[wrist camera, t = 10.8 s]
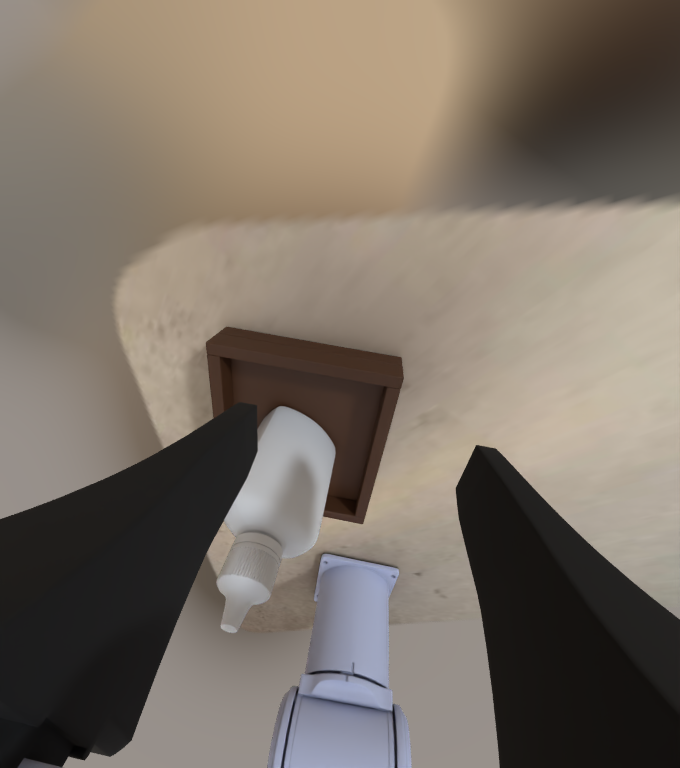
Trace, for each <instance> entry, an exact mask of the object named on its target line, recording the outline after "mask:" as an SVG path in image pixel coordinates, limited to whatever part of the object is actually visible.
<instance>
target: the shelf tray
mask: <svg viewBox="0 0 680 768" xmlns="http://www.w3.org/2000/svg"><path fill="white" fill-rule="evenodd" d="M206 349H207V358H208V368H209V378H210V388H211V397H212V407H213V417H214V418H215V417H217V416H218V415H220V414H221V413H223V412H224V411H226V410H227V409H229V408H230V407H232V406H233V405H235V404H237V403H238V402H243V403H248V404H254V405H257V429H258V427H259V426H260V424H261V422H262V421H263V419H264V418H265V417H266V416H267V415H268V414H269V413H270V412H271V411H272V410H274V409H275V408H277V407H279V406H285V407H289V408H291V409H294V410H296V411H298V412H300V413H302V414H304V415H306V416H307V417H309V418H310V419H312V420H313V421H314V422H316V423H317V424H318V425H319V426H320V427H321V428H322V429H323V430H324V431H325V432H326V433H327V435H328V436H329V438H330V439H331V441H332V442H333V444H334V446H335V453H336V454H335V459H334V464H333V469H332V474H331V479H330V484H329V489H328V494H327V499H326V503H325V508H324V513H323V517H328V518H333V519H338V520H343V521H348V522H353V523H358V524H363V522H364V519H365V515H366V512H367V508H368V504H369V501H370V497H371V494H372V490H373V486H374V483H375V479H376V476H377V472H378V468H379V465H380V461H381V458H382V454H383V450H384V447H385V443H386V440H387V436H388V433H389V429H390V425H391V422H392V418H393V415H394V411H395V407H396V404H397V400H398V397H399V393H400V389H401V386H402V382H403V379H404V376H403V367H402V358H401V357H395V356H389V355H384V354H378V353H372V352H367V351H361V350H355V349H350V348H344V347H338V346H333V345H327V344H321V343H316V342H310V341H304V340H299V339H293V338H287V337H282V336H276V335H270V334H265V333H259V332H253V331H248V330H242V329H236V328H230V327H225V328H224V329H223V330H221V331H220V332H219V333H217V334H216V335H215V336H213V337H212V338H211V339H210V340H208V341H207V342H206Z"/></svg>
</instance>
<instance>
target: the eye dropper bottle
mask: <svg viewBox="0 0 680 768" xmlns="http://www.w3.org/2000/svg"><path fill="white" fill-rule="evenodd" d="M257 433H258V452H257V454H256V457H255V460H254V462H253V465H252V467H251V470H250V472H249V475H248V477H247V479H246V481H245V483H244V485H243V487H242V488H241V490H240V492H239V494H238V496H237V498H236V499H235V501H234V503H233V505H232V507H231V508H230V510H229V512H228V514H227V516H226V517H225V519H224V522H225V524H226V525H227V527H228V528H229V529H230V531H231V532H232V534H233V535H234V536H235V537H236V539H235V541H234V543H233V545H232V547H231V550H230V552H229V554H228V556H227V559H226V561H225V563H224V565H223V567H222V570H221V572H220V574H219V576H218V579H217V586H218V589H219V590H220V592H221V593H222V594H223V595H225V597H226V604H225V608H224V613H223V618H222V622H221V626H220V627H221V629H223V630H224V631H226V632H230V633H236V632H237V631H238V629H239V627H240V625H241V624H242V622H243V620H244V618H245V616H246V614H247V612H248V610H249V609H250V607H251V606H252V605H258V604H262V603H264V602H266V601H267V600H269V598H270V597H271V593H272V590H273V586H274V583H275V580H276V576H277V573H278V569H279V566H280V563H281V559H282V558H294V557H297V556H299V555H301V554H303V553H305V552H307V551H308V550H309V549H311V548H312V547H313V546H314V544H315V543H316V541H317V538H318V535H319V531H320V527H321V522H322V518H323V513H324V508H325V503H326V499H327V494H328V489H329V484H330V479H331V474H332V469H333V464H334V459H335V454H336V453H335V446H334V444H333V442H332V441H331V439H330V438H329V436H328V435H327V433H326V432H325V431H324V430H323V429H322V428H321V427H320V426H319V425H318V424H317V423H316V422H314V421H313V420H312V419H310V418H309V417H307V416H306V415H304V414H302V413H300V412H298V411H296V410H294V409H291V408H289V407H285V406H279V407H277V408H275V409H274V410H272V411H271V412H270V413H269V414H268V415H267V416H266V417H265V418H264V419H263V421H262V422H261V424H260V426H259V427H258V429H257Z"/></svg>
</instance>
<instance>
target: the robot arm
mask: <svg viewBox="0 0 680 768" xmlns="http://www.w3.org/2000/svg"><path fill="white" fill-rule="evenodd" d="M257 452H258V433H257V405H254V404H248V403H243V402H238V403H237V404H235V405H233V406H232V407H230V408H229V409H227V410H226V411H224V412H223V413H221V414H220V415H218V416H217V417H215V418H214V419H212V420H211V421H209V422H208V423H206V424H204V425H203V426H201V427H200V428H198V429H197V430H195V431H193V432H192V433H190V434H189V435H187V436H185V437H184V438H182V439H180V440H178V441H177V442H175V443H173V444H172V445H170V446H168V447H166V448H165V449H163V450H161V451H159V452H158V453H156V454H154V455H152V456H150V457H149V458H147V459H145V460H143V461H141V462H139V463H137V464H135V465H133V466H131V467H129V468H127V469H125V470H123V471H121V472H118V473H116V474H114V475H112V476H110V477H108V478H105V479H103V480H101V481H98V482H96V483H94V484H91V485H89V486H86V487H84V488H82V489H79V490H77V491H75V492H72V493H70V494H67V495H65V496H63V497H60V498H58V499H55V500H52V501H50V502H47V503H44V504H42V505H39V506H36V507H34V508H31V509H28V510H25V511H23V512H20V513H17V514H14V515H11V516H8V517H6V518H3V519H0V768H62V766H63V765H64V763H65V761H66V760H67V758H68V757H73V758H77V759H81V760H85V759H86V758H87V757H88V755H89V754H90V752H93V753H97V754H101V755H105V756H109V757H110V756H112V755H114V754H116V753H117V752H118V751H120V750H121V749H122V748H124V747H125V746H126V745H127V744H128V743H129V742H130V741H131V740H132V737H133V735H134V732H135V729H136V727H137V724H138V721H139V718H140V716H141V713H142V710H143V708H144V705H145V702H146V700H147V697H148V694H149V692H150V689H151V686H152V684H153V681H154V678H155V676H156V673H157V670H158V668H159V665H160V663H161V660H162V658H163V655H164V653H165V650H166V648H167V645H168V643H169V640H170V638H171V635H172V633H173V630H174V627H175V625H176V622H177V620H178V618H179V616H180V613H181V611H182V608H183V606H184V604H185V601H186V599H187V596H188V594H189V592H190V589H191V587H192V585H193V582H194V580H195V578H196V575H197V573H198V571H199V569H200V566H201V564H202V562H203V559H204V557H205V555H206V553H207V551H208V549H209V547H210V545H211V543H212V541H213V539H214V537H215V536H216V534H217V532H218V530H219V528H220V526H221V525H222V523H223V521H224V519H225V517H226V516H227V514H228V512H229V510H230V508H231V507H232V505H233V503H234V501H235V499H236V498H237V496H238V494H239V492H240V490H241V488H242V487H243V485H244V483H245V481H246V479H247V477H248V475H249V472H250V470H251V467H252V465H253V462H254V460H255V457H256V454H257ZM456 497H457V507H458V515H459V521H460V525H461V530H462V534H463V538H464V542H465V546H466V550H467V554H468V558H469V562H470V566H471V570H472V574H473V578H474V582H475V586H476V590H477V594H478V599H479V604H480V609H481V614H482V621H483V628H484V634H485V641H486V647H487V654H488V662H489V670H490V678H491V685H492V693H493V702H494V712H495V721H496V731H497V740H498V751H499V763H500V768H680V619H678V618H677V617H675V616H674V615H673V614H672V613H671V612H669V611H668V610H667V609H666V608H664V607H663V606H662V605H660V604H659V603H658V602H657V601H655V600H654V599H653V598H651V597H650V596H649V595H648V594H647V593H645V592H644V591H643V590H642V589H640V588H639V587H638V586H637V585H636V584H634V583H633V582H632V581H631V580H630V579H628V578H627V577H626V576H625V575H624V574H623V573H622V572H620V571H619V570H618V569H617V568H616V567H615V566H613V565H612V564H611V563H610V562H609V561H608V560H607V559H605V558H604V557H603V556H602V555H601V554H600V553H599V552H598V551H596V550H595V549H594V548H593V547H592V546H591V545H590V544H589V543H588V542H587V541H586V540H585V539H583V538H582V537H581V536H580V535H579V534H578V533H577V532H576V531H575V530H574V529H573V528H572V527H571V526H570V525H569V524H568V523H567V522H566V521H565V520H564V519H563V518H562V517H561V516H560V515H559V514H558V513H557V512H556V511H555V510H554V509H553V508H552V507H551V506H550V505H549V504H548V503H547V502H546V501H545V500H544V499H543V498H542V497H541V496H540V495H539V494H538V493H537V491H536V490H535V489H534V488H533V487H532V486H531V485H530V484H529V483H528V482H527V481H526V480H525V479H524V478H523V477H522V475H521V474H520V473H519V472H518V471H517V470H516V469H515V468H514V467H513V466H512V465H511V464H510V463H509V462H508V460H507V459H506V458H505V457H504V456H503V455H502V454H501V453H500V452H499V451H498V450H497V449H495V448H490V447H484V446H479V445H476V447H475V449H474V451H473V453H472V455H471V457H470V459H469V462H468V464H467V466H466V468H465V470H464V472H463V474H462V476H461V478H460V480H459V482H458V485H457V487H456ZM398 576H399V570H398V569H397V568H394V567H389V566H384V565H379V564H375V563H370V562H365V561H360V560H355V559H350V558H345V557H341V556H336V555H331V554H322V556H321V562H320V567H319V573H318V578H317V584H316V589H315V595H314V601H316V602H317V606H316V612H315V618H314V623H313V629H312V635H311V641H310V647H309V652H308V658H307V664H306V671H305V674H301V678H300V684H299V687H298V686H292V687H291V688H290V690H289V691H288V692H287V693H286V694H285V695H284V697H283V699H282V702H281V704H280V708H279V711H278V715H277V719H276V723H275V727H274V732H273V737H272V742H271V748H270V753H269V759H268V765H267V768H412V766H411V748H410V736H409V727H408V721H407V718H406V717H405V715H404V713H403V712H402V709H401V707H400V706H399V705H396V704H393V705H392V690H391V689H389V605H388V598H389V596H390V594H391V591H392V589H393V587H394V585H395V582H396V580H397V578H398Z"/></svg>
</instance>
